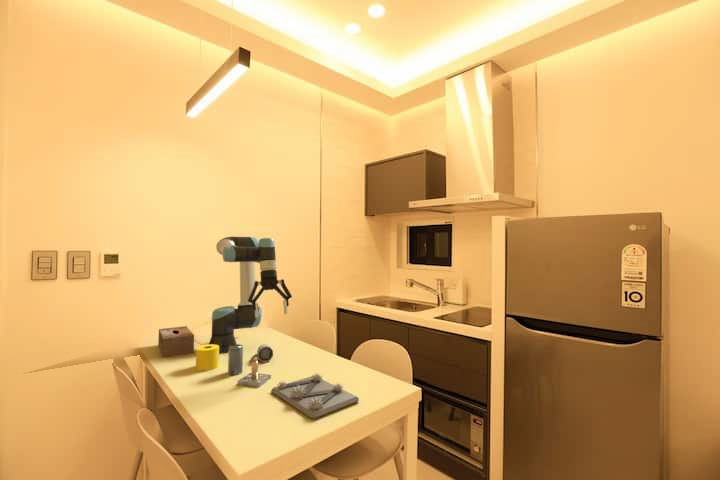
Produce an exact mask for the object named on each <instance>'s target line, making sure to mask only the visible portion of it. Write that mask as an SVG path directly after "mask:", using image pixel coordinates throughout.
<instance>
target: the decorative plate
mask: <svg viewBox="0 0 720 480" xmlns="http://www.w3.org/2000/svg"><path fill="white" fill-rule="evenodd" d="M276 385H277V386H275V387H274V386H273V388H272V389H270V392H271V393H272V394H274V395H276V396H277V397H279V398H280V399H281V400H284V401H285V402H286V403H287V404H289V405H291V406H292V407H294V408H295V409H297V410H298V411H299V412H302V413H303V414H304V415H305V416H307V417H309V418H310V419H311V420H315V419H319V418H320V417H324V416H325V415H328V414H330V413H334V412H336V411H339V410H341V409H343V408H347V407H348V406H351V405H355V404H357V403H358V402H359V400H360V398H359V397H358V396H357V395H354V394H353V393H351V392H348V391H347V390H345V389H344V388H343V383H342V384H341V383H338V382H337V381H336V383H334V384H332V383H330V382H328V381H326V380H324V379H323V375H321V374H320V373H313V374H312V375H311V376H309V377H305V378H301V379H298V380H294V381H290V382H286V380H283V381H279V382H278V383H277V384H276Z"/></svg>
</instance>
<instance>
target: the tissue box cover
mask: <svg viewBox="0 0 720 480" xmlns="http://www.w3.org/2000/svg"><path fill="white" fill-rule="evenodd" d="M157 345H158V346H157V347H158V349H159V353H160V354H161V356H162V359H165V358H173V357H178V356H183V355H185V356H186V355H190V354H191V355H192V354H194V352H195V334H194V333H193V332H192V330H191V329H190V328H189V327H188V326H187V325H185V326H175V327H167V328H159V329H158V342H157Z"/></svg>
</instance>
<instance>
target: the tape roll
mask: <svg viewBox="0 0 720 480" xmlns="http://www.w3.org/2000/svg"><path fill="white" fill-rule="evenodd" d="M195 350H196V351H195V370H197V371H198V372H205V371H207V372H208V371H212V370H215V369H217V368H219V365H220V364H219V363H220V353H219V345H214V344H210V345H209V344H202V345H200V346H197V347H196V348H195Z"/></svg>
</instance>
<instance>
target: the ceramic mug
mask: <svg viewBox="0 0 720 480" xmlns="http://www.w3.org/2000/svg"><path fill="white" fill-rule="evenodd" d="M273 356H274V350H273V348H272V347H271V346H270V345H269V344H267V343H265V344H261V345H260V346H259V347H258V348H257V352H256V354H254V355H252V356H251V357H250V360H251V361H250V362H252V361H253V358H254V357H257V361H260V362H261V363H267V362H270V360H272V359H273Z"/></svg>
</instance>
